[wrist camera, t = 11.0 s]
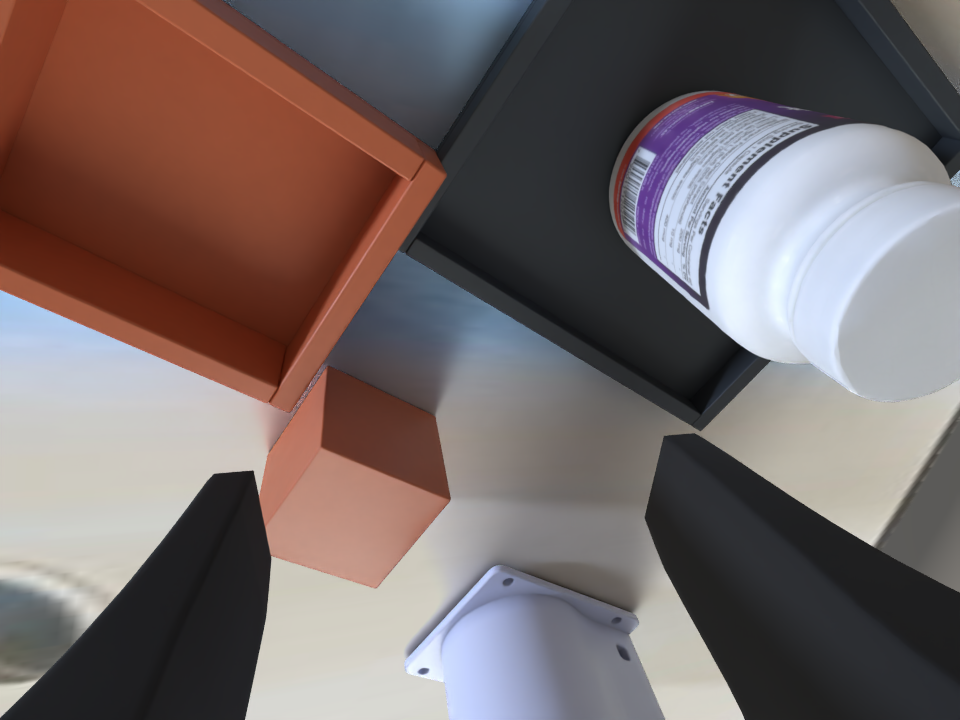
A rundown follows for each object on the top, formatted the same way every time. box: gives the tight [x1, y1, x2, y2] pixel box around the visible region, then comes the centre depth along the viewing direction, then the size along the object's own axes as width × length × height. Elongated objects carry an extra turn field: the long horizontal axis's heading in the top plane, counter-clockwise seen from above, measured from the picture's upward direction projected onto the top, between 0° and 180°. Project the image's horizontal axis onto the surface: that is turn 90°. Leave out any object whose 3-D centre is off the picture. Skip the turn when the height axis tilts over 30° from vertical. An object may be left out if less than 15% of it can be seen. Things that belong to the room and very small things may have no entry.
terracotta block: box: [259, 366, 451, 588], centre depth 20 cm, size 4×4×4 cm
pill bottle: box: [609, 91, 960, 402], centre depth 15 cm, size 5×5×10 cm
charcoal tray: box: [398, 0, 960, 431], centre depth 19 cm, size 14×13×1 cm
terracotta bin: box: [0, 0, 447, 412], centre depth 16 cm, size 10×8×3 cm
